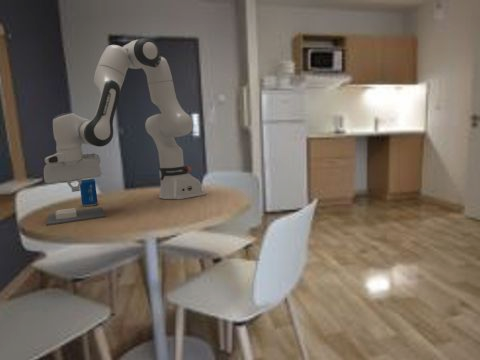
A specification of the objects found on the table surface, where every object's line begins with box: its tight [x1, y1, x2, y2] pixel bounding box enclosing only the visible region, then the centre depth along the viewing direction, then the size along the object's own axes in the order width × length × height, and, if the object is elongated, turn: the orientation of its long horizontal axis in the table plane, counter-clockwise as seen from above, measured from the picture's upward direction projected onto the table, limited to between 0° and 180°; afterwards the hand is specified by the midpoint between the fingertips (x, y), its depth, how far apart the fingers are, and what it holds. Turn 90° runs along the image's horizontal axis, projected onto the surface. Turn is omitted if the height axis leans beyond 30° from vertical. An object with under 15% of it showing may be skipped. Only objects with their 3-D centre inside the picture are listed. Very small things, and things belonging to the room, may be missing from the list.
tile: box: [55, 207, 77, 220], centre depth 140 cm, size 2×8×7 cm
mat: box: [46, 206, 107, 226], centre depth 141 cm, size 20×18×1 cm
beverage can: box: [79, 177, 98, 207], centre depth 161 cm, size 6×6×12 cm
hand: (76, 191), depth 141 cm, fingers closed
